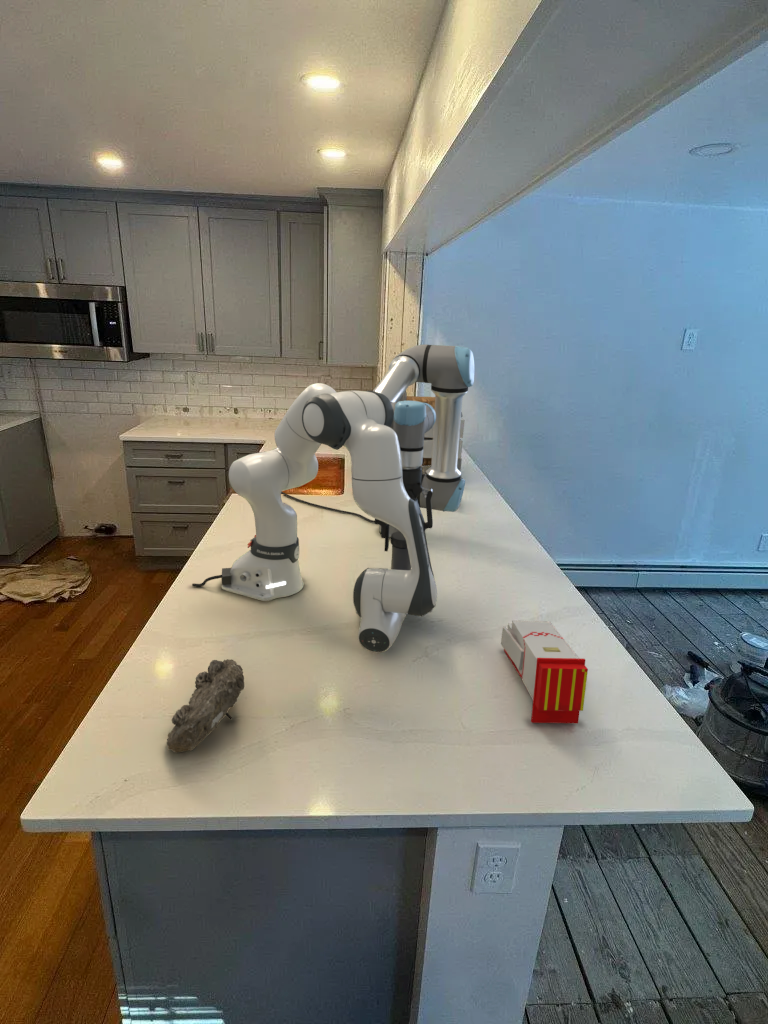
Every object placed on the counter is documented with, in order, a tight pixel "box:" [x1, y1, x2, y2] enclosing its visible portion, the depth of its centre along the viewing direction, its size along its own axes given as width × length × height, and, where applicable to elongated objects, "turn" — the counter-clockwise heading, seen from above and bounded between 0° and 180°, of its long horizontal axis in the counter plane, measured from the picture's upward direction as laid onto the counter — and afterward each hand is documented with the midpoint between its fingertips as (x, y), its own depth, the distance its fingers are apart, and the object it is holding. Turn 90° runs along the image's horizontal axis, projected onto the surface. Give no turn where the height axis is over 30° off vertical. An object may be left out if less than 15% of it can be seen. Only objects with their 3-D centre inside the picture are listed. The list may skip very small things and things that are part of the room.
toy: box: [500, 620, 589, 724], centre depth 121 cm, size 12×13×30 cm
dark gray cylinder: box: [390, 544, 412, 570], centre depth 149 cm, size 5×5×19 cm
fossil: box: [166, 658, 245, 754], centre depth 106 cm, size 22×10×15 cm
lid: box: [390, 532, 407, 548], centre depth 146 cm, size 6×6×2 cm
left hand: (400, 582), depth 151 cm, fingers closed on dark gray cylinder, 5 cm apart
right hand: (402, 550), depth 147 cm, fingers open, 7 cm apart
